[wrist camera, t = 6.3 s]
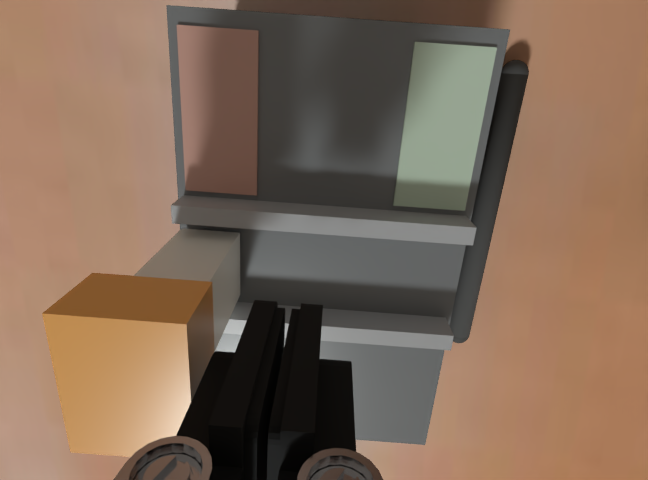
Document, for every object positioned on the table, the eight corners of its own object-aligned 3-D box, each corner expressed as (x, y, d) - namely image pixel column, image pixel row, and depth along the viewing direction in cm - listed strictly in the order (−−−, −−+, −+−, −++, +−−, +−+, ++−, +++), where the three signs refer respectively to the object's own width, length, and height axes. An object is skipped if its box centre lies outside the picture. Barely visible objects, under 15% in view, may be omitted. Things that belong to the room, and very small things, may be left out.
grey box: (231, 30, 20) (149, -2, 11) (445, 46, 20) (527, 24, 11) (234, 324, 26) (182, 450, 17) (399, 336, 26) (430, 469, 17)
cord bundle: (469, 57, 20) (477, 56, 19) (525, 61, 20) (536, 60, 19) (420, 332, 25) (424, 344, 24) (464, 335, 25) (469, 348, 24)
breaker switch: (168, 210, 14) (42, 313, 8) (251, 216, 14) (186, 324, 8) (175, 304, 16) (70, 452, 10) (251, 309, 16) (194, 462, 10)
